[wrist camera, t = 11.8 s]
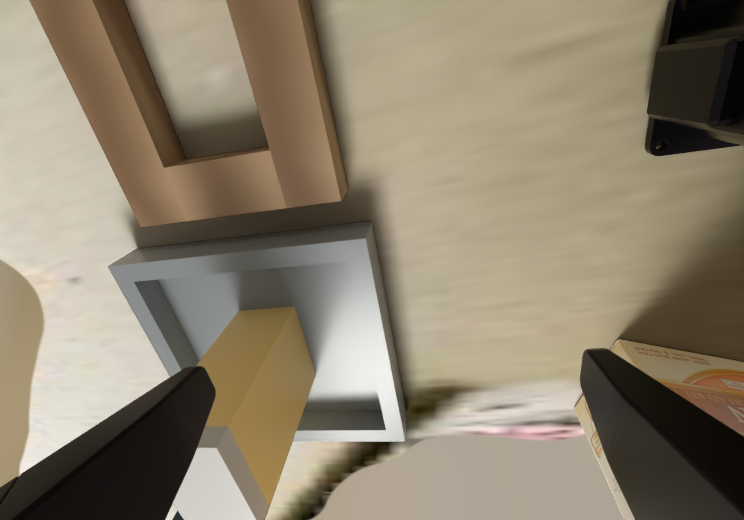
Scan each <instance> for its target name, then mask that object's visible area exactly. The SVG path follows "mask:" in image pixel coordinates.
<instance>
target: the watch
mask: <svg viewBox="0 0 744 520" xmlns="http://www.w3.org/2000/svg"><path fill="white" fill-rule="evenodd" d="M173 520H184V519H183V518H182V516H181V515H180V513H179V512H178V511H177V513H176V514H175V516H174V518H173Z"/></svg>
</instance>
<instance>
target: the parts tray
mask: <svg viewBox="0 0 744 520" xmlns="http://www.w3.org/2000/svg"><path fill="white" fill-rule="evenodd" d="M108 268H109V270H110V271H111V273H112V275H113V277H114V279H115V280H116V282H117V284H118V286H119V287H120V289H121V291H122V293H123V294H124V296H125V298H126V300H127V302H128V303H129V305H130V307H131V309H132V310H133V312H134V314H135V316H136V317H137V319H138V321H139V323H140V324H141V326H142V328H143V330H144V332H145V333H146V335H147V337H148V339H149V340H150V342H151V344H152V346H153V347H154V349H155V351H156V353H157V355H158V356H159V358H160V360H161V362H162V363H163V365H164V367H165V369H166V370H167V372H168V374H169V376H170V377H171V376H173V375H174V374H176V373H178V372H179V371H181V370H182V369H184V368H186V367H189V366H196V365H197V364H198V363H199V361H200V360H201V359H202V358H203V356H204V355H205V354H206V352H207V351H208V350H209V349H210V347H211V346H212V345H213V343H214V342H215V341H216V340H217V338H218V337H219V336H220V334H221V333H222V332H223V331H224V329H225V328H226V327H227V325H228V324H229V323H230V322H231V320H232V319H233V318H234V316H235V315H236V314H237V313H238V311H241V310H254V309H268V308H281V307H295V310H296V313H297V316H298V319H299V322H300V326H301V329H302V332H303V335H304V338H305V341H306V344H307V347H308V350H309V354H310V357H311V360H312V363H313V366H314V369H315V372H316V377H315V379H314V382H313V385H312V388H311V391H310V394H309V396H308V399H307V402H306V405H305V408H304V411H303V413H302V416H301V419H300V422H299V425H298V428H297V430H296V433H295V436H294V439H293V441H405V433H406V407H405V402H404V396H403V391H402V385H401V380H400V374H399V369H398V363H397V358H396V352H395V347H394V341H393V336H392V330H391V325H390V319H389V314H388V308H387V303H386V297H385V292H384V286H383V281H382V275H381V270H380V264H379V259H378V253H377V248H376V242H375V237H374V231H373V226H372V221H368V222H359V223H351V224H342V225H334V226H325V227H317V228H308V229H300V230H291V231H283V232H274V233H266V234H257V235H249V236H240V237H232V238H223V239H215V240H206V241H198V242H189V243H181V244H173V245H164V246H156V247H147V248H139V249H136V250H134V251H132V252H131V253H129V254H127V255H126V256H124V257H122V258H121V259H119V260H118V261H116V262H114V263H113V264H111V265H109V266H108Z"/></svg>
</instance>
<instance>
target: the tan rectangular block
mask: <svg viewBox="0 0 744 520" xmlns="http://www.w3.org/2000/svg"><path fill="white" fill-rule="evenodd" d="M196 366H203V367H204V368H205V369H206V371H207V373H208V375H209V377H210V379H211V381H212V383H213V385H214V387H215V390H216V397H215V400H214V403H213V406H212V409H211V411H210V414H209V417H208V420H207V422H206V425H205V428H204V431H203V434H202V436H201V439H200V442H199V445H198V447H197V450H196V453H195V455H194V458H193V460H192V462H191V465H190V467H189V469H188V471H187V473H186V476H185V478H184V480H183V482H182V484H181V486H180V489H179V491H178V493H177V495H176V497H175V499H174V501H173V505H174V506H175V508H176V509H177V510H178V512H179V513H180V515H181V516H182V518H183V519H184V520H265V518H266V515H267V513H268V510H269V507H270V504H271V501H272V498H273V496H274V493H275V490H276V487H277V484H278V481H279V479H280V476H281V473H282V470H283V467H284V464H285V462H286V459H287V456H288V453H289V450H290V447H291V445H292V442H293V439H294V436H295V433H296V430H297V428H298V425H299V422H300V419H301V416H302V413H303V411H304V408H305V405H306V402H307V399H308V396H309V394H310V391H311V388H312V385H313V382H314V379H315V377H316V372H315V369H314V366H313V363H312V360H311V357H310V354H309V350H308V347H307V344H306V341H305V338H304V335H303V332H302V329H301V326H300V322H299V319H298V316H297V313H296V310H295V307H281V308H268V309H254V310H241V311H238V313H237V314H236V315H235V316H234V318H233V319H232V320H231V322H230V323H229V324H228V325H227V327H226V328H225V329H224V331H223V332H222V333H221V334H220V336H219V337H218V338H217V340H216V341H215V342H214V343H213V345H212V346H211V347H210V349H209V350H208V351H207V352H206V354H205V355H204V356H203V358H202V359H201V360H200V361H199V363H198V364H197V365H196Z"/></svg>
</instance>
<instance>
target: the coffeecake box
mask: <svg viewBox="0 0 744 520" xmlns="http://www.w3.org/2000/svg"><path fill="white" fill-rule="evenodd" d="M610 351H612V352H613V353H615V354H616V355H618V356H620V357H621V358H623V359H624V360H626V361H627V362H629V363H630V364H632V365H634V366H635V367H637V368H638V369H640V370H641V371H643V372H644V373H646V374H648V375H649V376H651V377H652V378H654V379H655V380H657V381H658V382H660V383H662V384H663V385H665V386H666V387H668V388H669V389H671V390H672V391H674V392H676V393H677V394H679V395H680V396H682V397H683V398H685V399H686V400H688V401H690V402H691V403H693V404H694V405H696V406H697V407H699V408H700V409H702V410H704V411H705V412H707V413H708V414H710V415H711V416H713V417H714V418H716V419H718V420H719V421H721V422H722V423H724V424H725V425H727V426H728V427H730V428H732V429H733V430H735V431H736V432H738V433H739V434H741V435H742V436H744V362H740V361H735V360H729V359H724V358H718V357H713V356H707V355H702V354H697V353H691V352H686V351H680V350H675V349H669V348H664V347H659V346H653V345H648V344H643V343H637V342H632V341H627V340H621V339H618V340H617V341H616V342H615V344H614V345H613V347H612V348H611V350H610ZM574 410H575V412H576V414H577V417H578V419H579V421H580V423H581V426H582V428H583V430H584V432H585V434H586V437H587V439H588V441H589V443H590V445H591V447H592V450H593V452H594V454H595V456H596V458H597V461H598V463H599V465H600V467H601V469H602V471H603V474H604V476H605V478H606V480H607V483H608V485H609V487H610V489H611V491H612V493H613V496H614V498H615V500H616V502H617V504H618V507H619V509H620V511H621V513H622V515H623V518H624V520H635V519H634V517H633V514H632V512H631V510H630V508H629V506H628V504H627V502H626V500H625V498H624V496H623V493H622V491H621V489H620V487H619V485H618V483H617V481H616V479H615V477H614V475H613V472H612V470H611V468H610V466H609V463H608V461H607V459H606V456H605V453H604V451H603V448H602V445H601V442H600V439H599V437H598V434H597V431H596V428H595V425H594V422H593V420H592V417H591V414H590V411H589V408H588V405H587V402H586V400H585V397H584V394H583V395H582V397H581V398H580V400H579V402H578V403H577V405H576V407H575V409H574Z"/></svg>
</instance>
